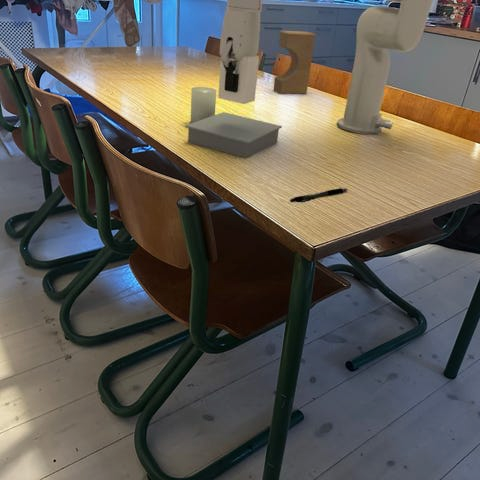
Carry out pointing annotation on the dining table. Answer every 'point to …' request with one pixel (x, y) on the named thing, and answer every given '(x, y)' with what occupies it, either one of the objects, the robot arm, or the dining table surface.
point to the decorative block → (296, 62)
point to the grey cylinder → (202, 103)
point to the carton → (241, 81)
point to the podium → (233, 134)
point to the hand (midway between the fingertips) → (237, 88)
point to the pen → (318, 195)
